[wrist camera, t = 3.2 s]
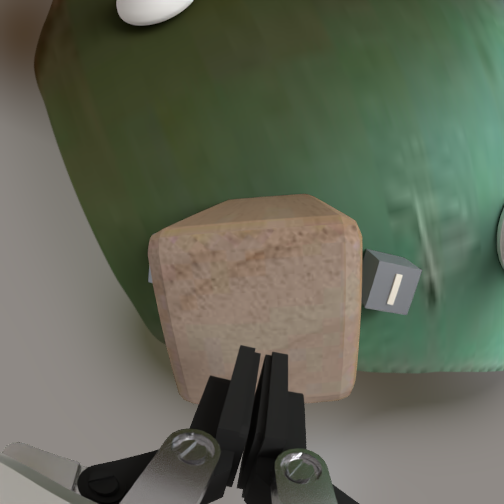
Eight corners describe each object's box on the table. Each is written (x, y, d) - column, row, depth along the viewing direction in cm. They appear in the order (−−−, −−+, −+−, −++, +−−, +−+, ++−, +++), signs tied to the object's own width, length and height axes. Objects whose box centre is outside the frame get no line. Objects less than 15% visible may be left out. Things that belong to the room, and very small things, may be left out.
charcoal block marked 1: (404, 257, 32) (422, 270, 27) (391, 297, 33) (407, 315, 28) (366, 248, 32) (380, 261, 27) (354, 290, 33) (365, 308, 28)
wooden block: (318, 283, 33) (356, 405, 14) (230, 288, 35) (176, 409, 15) (314, 192, 31) (367, 216, 12) (220, 200, 32) (135, 234, 13)
